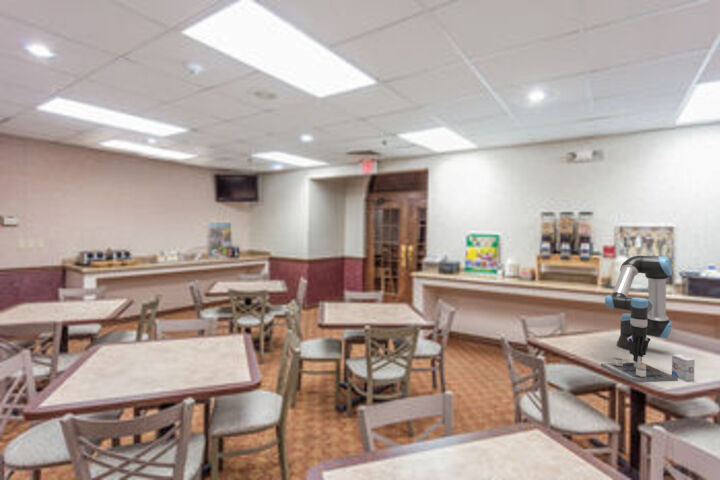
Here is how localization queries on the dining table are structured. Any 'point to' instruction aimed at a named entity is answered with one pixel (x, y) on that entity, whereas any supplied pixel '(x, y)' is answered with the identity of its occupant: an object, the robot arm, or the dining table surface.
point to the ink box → (683, 367)
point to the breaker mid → (642, 366)
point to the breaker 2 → (641, 372)
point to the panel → (630, 374)
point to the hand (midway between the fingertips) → (637, 367)
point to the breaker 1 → (618, 362)
